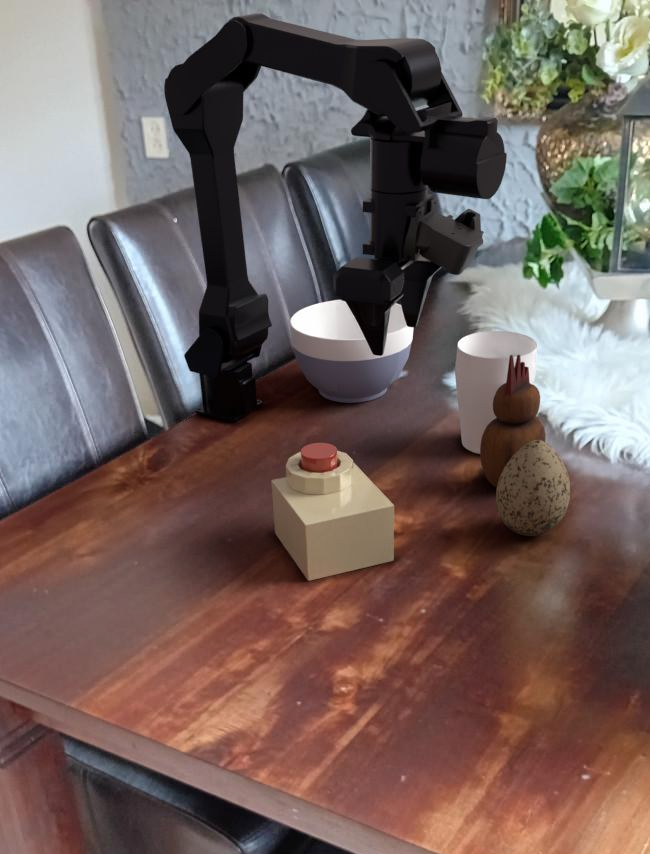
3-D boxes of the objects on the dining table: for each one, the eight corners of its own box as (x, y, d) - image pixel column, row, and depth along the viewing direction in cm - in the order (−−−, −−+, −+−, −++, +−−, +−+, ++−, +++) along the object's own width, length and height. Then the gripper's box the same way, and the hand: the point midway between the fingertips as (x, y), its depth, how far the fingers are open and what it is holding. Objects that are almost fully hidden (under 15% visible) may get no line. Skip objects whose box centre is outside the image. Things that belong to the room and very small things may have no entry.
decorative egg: (479, 525, 103) (485, 435, 97) (537, 508, 105) (546, 419, 100) (519, 557, 98) (528, 464, 92) (580, 538, 100) (592, 447, 94)
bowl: (309, 421, 126) (306, 346, 121) (281, 376, 139) (277, 307, 133) (429, 403, 129) (431, 329, 123) (391, 361, 141) (391, 292, 136)
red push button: (296, 462, 100) (295, 446, 99) (329, 456, 101) (329, 439, 100) (308, 477, 97) (307, 461, 96) (343, 470, 98) (342, 454, 97)
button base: (271, 528, 105) (265, 458, 100) (350, 510, 107) (349, 441, 102) (308, 581, 96) (304, 507, 92) (393, 561, 99) (394, 488, 94)
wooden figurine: (500, 501, 107) (511, 365, 98) (469, 480, 111) (476, 348, 102) (551, 484, 109) (566, 351, 101) (518, 464, 114) (530, 334, 105)
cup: (528, 462, 114) (538, 360, 107) (448, 459, 116) (453, 358, 109) (529, 429, 121) (538, 331, 114) (454, 426, 123) (458, 329, 116)
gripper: (440, 217, 90) (432, 382, 100) (506, 172, 103) (494, 322, 113) (329, 207, 95) (332, 366, 104) (406, 165, 108) (403, 310, 117)
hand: (395, 340), depth 109 cm, fingers open, 9 cm apart
